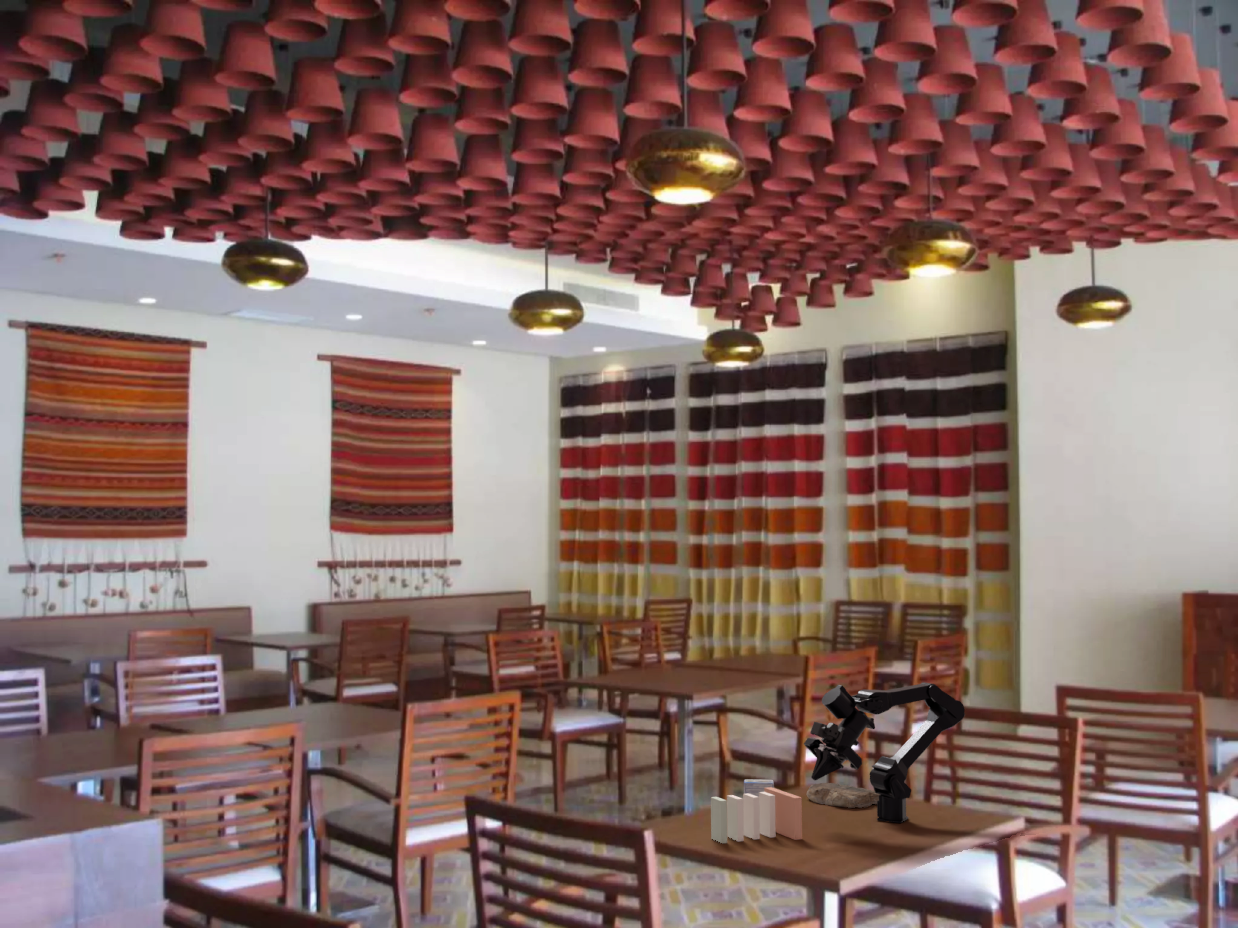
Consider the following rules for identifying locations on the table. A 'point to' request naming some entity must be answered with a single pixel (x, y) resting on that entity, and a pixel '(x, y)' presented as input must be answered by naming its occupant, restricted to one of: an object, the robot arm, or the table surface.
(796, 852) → the table surface
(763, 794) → the ivory domino
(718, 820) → the sage domino
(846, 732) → the robot arm
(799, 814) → the terracotta tile
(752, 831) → the ivory domino
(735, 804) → the ivory domino
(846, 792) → the flat grey rock
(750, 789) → the medicine box
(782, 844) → the table surface
